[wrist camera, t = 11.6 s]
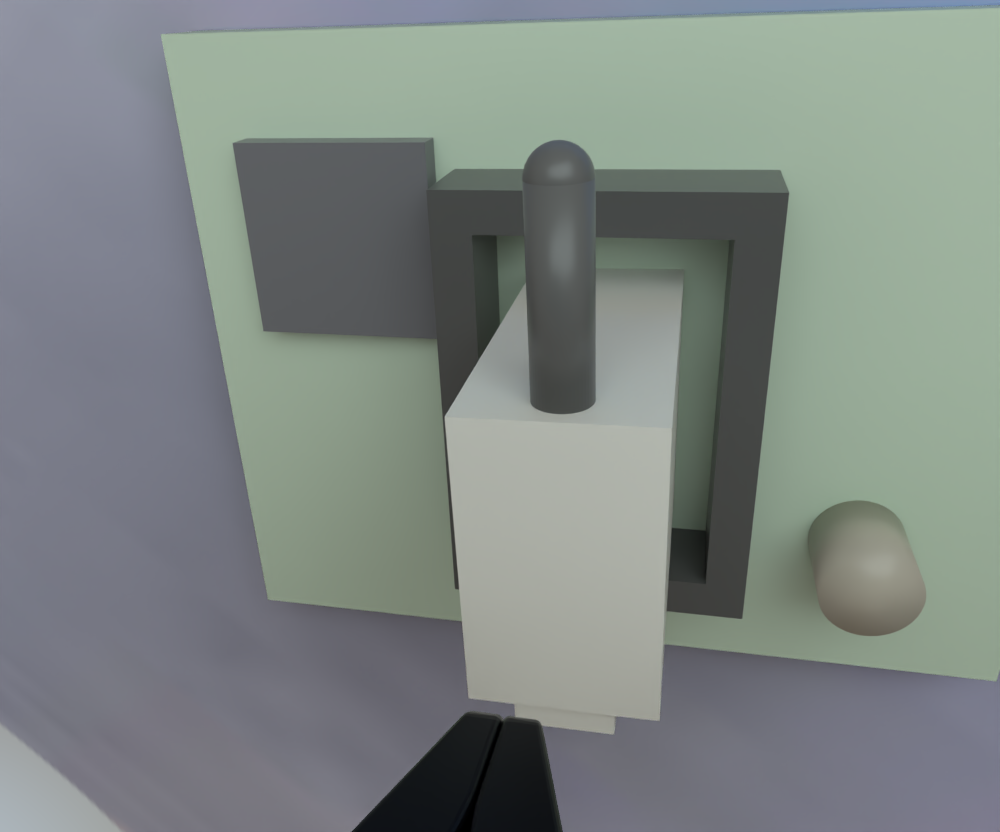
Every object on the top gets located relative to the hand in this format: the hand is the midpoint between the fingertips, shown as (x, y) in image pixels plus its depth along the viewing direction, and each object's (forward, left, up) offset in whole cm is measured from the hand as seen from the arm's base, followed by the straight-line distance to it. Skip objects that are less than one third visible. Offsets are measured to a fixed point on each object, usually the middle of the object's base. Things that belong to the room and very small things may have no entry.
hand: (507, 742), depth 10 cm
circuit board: (0, 0, -12) cm, 12 cm away
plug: (0, -1, -10) cm, 10 cm away
